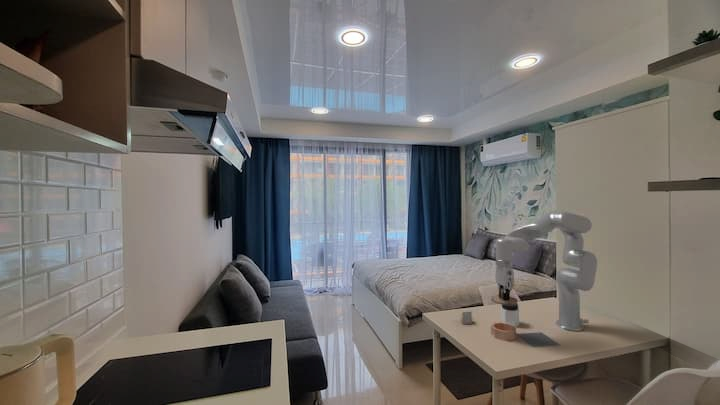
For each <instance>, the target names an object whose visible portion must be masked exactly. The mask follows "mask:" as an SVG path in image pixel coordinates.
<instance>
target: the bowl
mask: <svg viewBox="0 0 720 405" xmlns="http://www.w3.org/2000/svg"><path fill="white" fill-rule="evenodd" d="M516 334H517V327H514V326H513V325H511V324H507V323H503V322H501V321H499V322H493V323H492V324H491V325H490V335H491V336H492V337H493V338H494V339H497V340H501V341H504V342H505V341H507V342H509V341H515V340H516V338H517V335H516Z"/></svg>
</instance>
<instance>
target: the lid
mask: <svg viewBox="0 0 720 405" xmlns="http://www.w3.org/2000/svg"><path fill="white" fill-rule="evenodd" d="M503 292H504V288H501V298H499V294H496V295H492V296H491V298H490V299H491V301H492V302H493V303H495V304H499V305H502V304H503V305H515V304H518V299H517V298H516V297H513V296H510V300H503Z"/></svg>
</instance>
